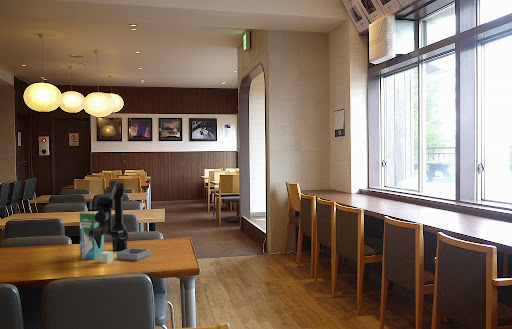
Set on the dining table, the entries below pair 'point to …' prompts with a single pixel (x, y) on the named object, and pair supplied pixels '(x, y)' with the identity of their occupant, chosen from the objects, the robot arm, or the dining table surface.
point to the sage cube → (106, 256)
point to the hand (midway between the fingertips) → (106, 249)
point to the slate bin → (133, 254)
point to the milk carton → (89, 237)
